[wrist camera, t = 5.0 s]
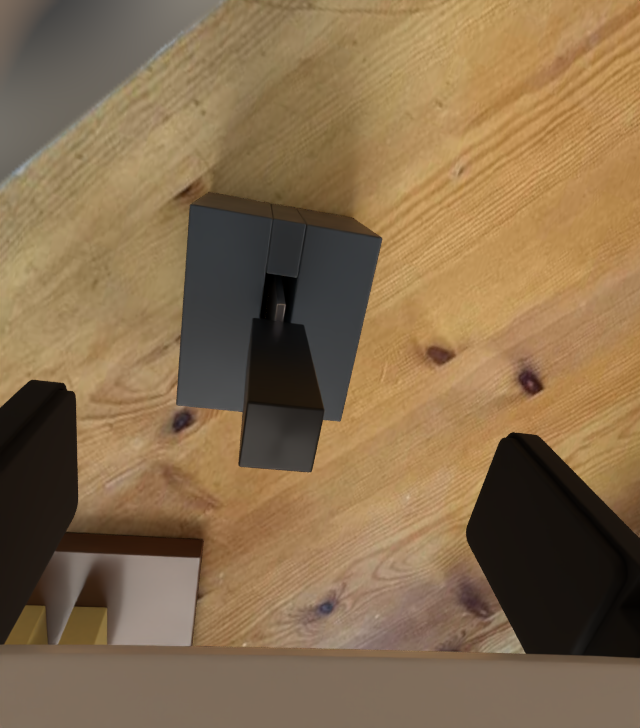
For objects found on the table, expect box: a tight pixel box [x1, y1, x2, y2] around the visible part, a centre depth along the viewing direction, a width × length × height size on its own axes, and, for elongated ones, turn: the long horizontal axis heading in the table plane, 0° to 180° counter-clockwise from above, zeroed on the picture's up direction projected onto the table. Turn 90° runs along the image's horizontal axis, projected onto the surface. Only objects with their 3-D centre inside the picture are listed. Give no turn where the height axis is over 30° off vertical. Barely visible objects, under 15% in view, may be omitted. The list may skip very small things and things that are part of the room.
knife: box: [238, 274, 325, 472], centre depth 17 cm, size 2×3×14 cm, turn 170°
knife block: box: [176, 192, 382, 421], centre depth 21 cm, size 7×8×6 cm
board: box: [26, 533, 204, 646], centre depth 30 cm, size 20×14×2 cm
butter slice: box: [58, 607, 107, 645], centre depth 28 cm, size 2×5×4 cm, turn 170°
